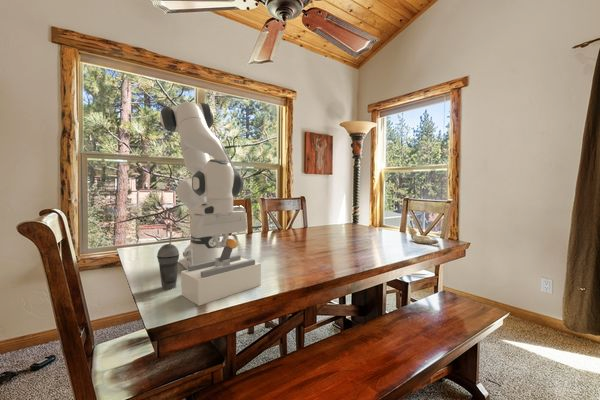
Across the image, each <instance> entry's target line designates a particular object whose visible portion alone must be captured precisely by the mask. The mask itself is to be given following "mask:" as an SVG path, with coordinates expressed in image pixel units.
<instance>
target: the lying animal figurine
mask: <svg viewBox="0 0 600 400" xmlns="http://www.w3.org/2000/svg"><path fill="white" fill-rule="evenodd" d="M407 230H408V233H409V235H410V237H411V240H412V241H414V242H415V243H416V244H426V245H429V244H430V245H437V244H438V243H439V241H438V240H437V239H436V240H435V239H431V237H429V236H425V235H417V233H418V232H417V231H416V230H415V229H414V228H413V227H411V226H410V225H409V224H408V225H407Z"/></svg>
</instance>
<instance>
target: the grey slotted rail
mask: <svg viewBox="0 0 600 400" xmlns="http://www.w3.org/2000/svg"><path fill="white" fill-rule="evenodd" d="M241 258H242V256H241V254H236V255H230V258H229V260H230V262H233V261H237V260H241ZM255 262H256V259H253V258H252V259H248V260H247V261H243V262H239V263H235V264H230V265H226V266H222V267H218V268H214V269H210V270H206V271H201V277H202V278H205V277H209V276H212V275H216V274H220V273H224V272H228V271H232V270H236V269H239V268H243V267H247V266H251V265H255ZM212 266H215V260H212V261H207V262H203V263H198V264H194V265H189V266H188V269H187V270H188V271H194V270H199V269H203V268H207V267H212Z"/></svg>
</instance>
